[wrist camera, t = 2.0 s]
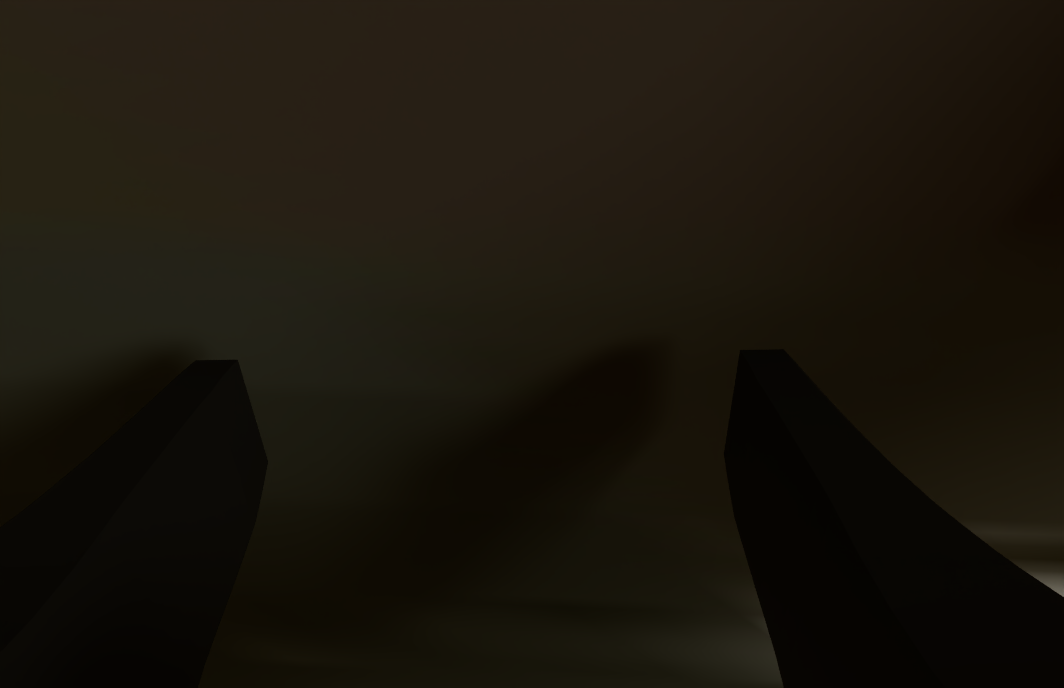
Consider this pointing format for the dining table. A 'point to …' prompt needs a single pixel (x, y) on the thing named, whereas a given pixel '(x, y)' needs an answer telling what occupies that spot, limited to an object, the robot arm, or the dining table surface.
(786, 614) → the robot arm
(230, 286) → the dining table surface
